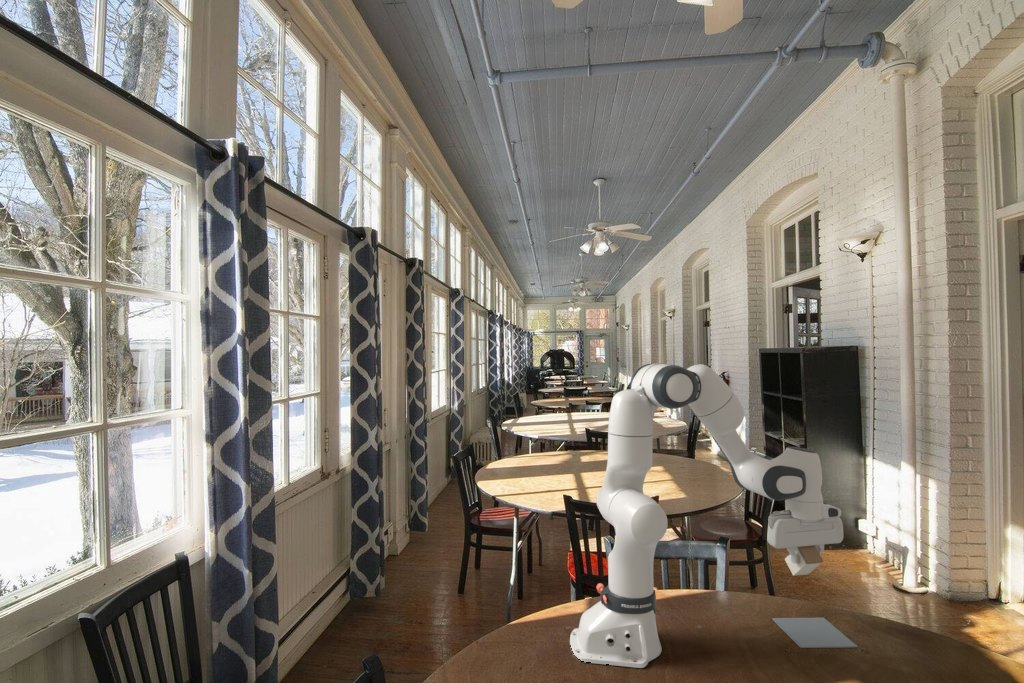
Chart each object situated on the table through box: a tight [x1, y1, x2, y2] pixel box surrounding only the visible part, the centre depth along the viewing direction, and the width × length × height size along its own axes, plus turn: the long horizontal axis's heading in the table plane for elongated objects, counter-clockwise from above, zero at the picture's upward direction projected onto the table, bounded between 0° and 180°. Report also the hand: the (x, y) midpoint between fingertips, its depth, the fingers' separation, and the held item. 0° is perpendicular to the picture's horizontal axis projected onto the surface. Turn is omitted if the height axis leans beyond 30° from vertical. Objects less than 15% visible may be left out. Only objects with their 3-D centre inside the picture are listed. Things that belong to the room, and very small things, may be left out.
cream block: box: [784, 545, 824, 577], centre depth 138 cm, size 4×4×8 cm
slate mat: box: [771, 617, 859, 649], centre depth 135 cm, size 14×14×1 cm
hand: (805, 561), depth 137 cm, fingers closed on cream block, 4 cm apart
